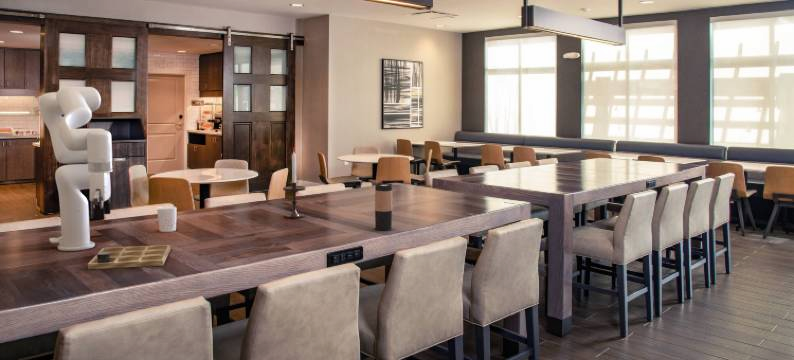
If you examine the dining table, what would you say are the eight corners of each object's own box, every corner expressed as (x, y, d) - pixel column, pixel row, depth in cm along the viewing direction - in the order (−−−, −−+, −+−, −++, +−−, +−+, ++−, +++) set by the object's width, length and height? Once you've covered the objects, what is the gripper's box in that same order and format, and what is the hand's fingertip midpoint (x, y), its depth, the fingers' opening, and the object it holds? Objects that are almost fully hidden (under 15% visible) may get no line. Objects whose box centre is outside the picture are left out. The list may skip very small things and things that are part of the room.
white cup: (156, 232, 265) (155, 209, 264) (159, 229, 273) (158, 206, 272) (175, 232, 267) (175, 209, 265) (178, 228, 274) (177, 205, 273)
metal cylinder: (96, 264, 210) (95, 254, 210) (98, 261, 214) (98, 252, 214) (109, 264, 211) (108, 254, 211) (111, 261, 215) (110, 251, 215)
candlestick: (310, 216, 306) (309, 144, 302) (295, 219, 297) (294, 146, 293) (293, 214, 312) (292, 143, 307) (278, 217, 303) (277, 145, 298)
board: (87, 269, 208) (87, 264, 207) (102, 252, 230) (102, 247, 230) (163, 265, 213) (162, 260, 213) (170, 249, 236) (170, 244, 236)
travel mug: (378, 231, 273) (378, 186, 270) (372, 228, 280) (372, 183, 277) (394, 230, 275) (395, 185, 273) (388, 227, 282) (388, 183, 280)
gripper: (94, 164, 219) (96, 212, 221) (81, 170, 202) (84, 222, 204) (117, 164, 220) (119, 211, 223) (106, 170, 204) (108, 222, 206)
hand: (102, 216), depth 214 cm, fingers open, 9 cm apart
